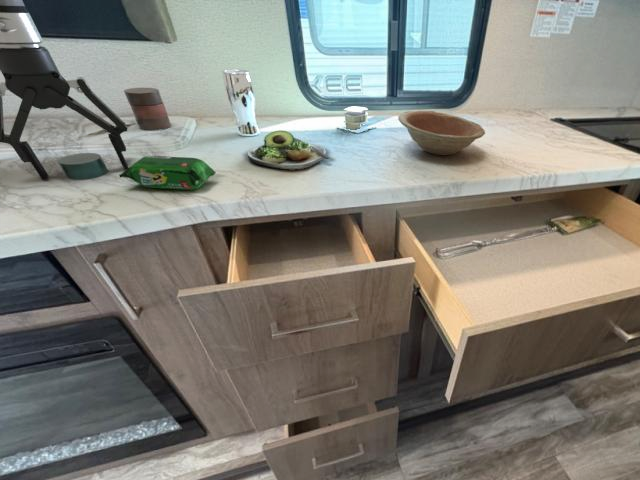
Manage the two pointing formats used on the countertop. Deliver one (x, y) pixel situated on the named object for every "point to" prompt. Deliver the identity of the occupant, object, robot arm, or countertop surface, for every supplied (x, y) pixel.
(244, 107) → the beer glass
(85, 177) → the teal short cylinder
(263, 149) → the salad plate
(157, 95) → the brown striped cylinder
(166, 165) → the snack package
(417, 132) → the bowl
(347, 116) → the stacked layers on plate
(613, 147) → the countertop surface
